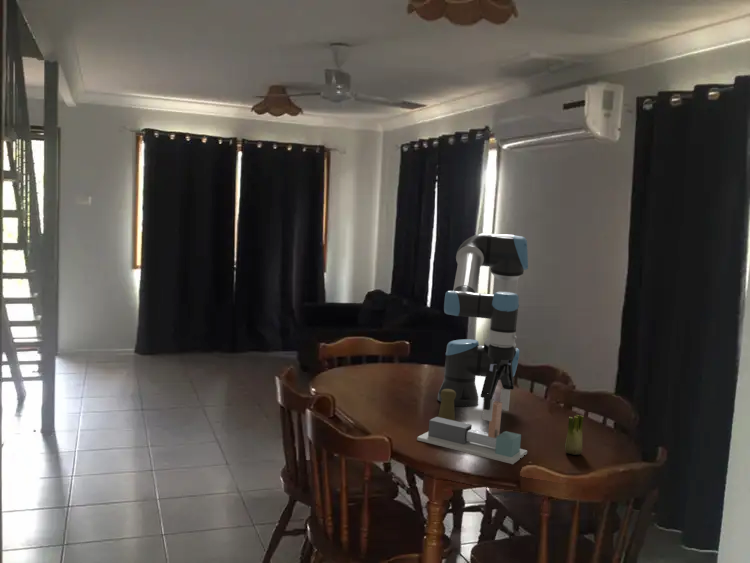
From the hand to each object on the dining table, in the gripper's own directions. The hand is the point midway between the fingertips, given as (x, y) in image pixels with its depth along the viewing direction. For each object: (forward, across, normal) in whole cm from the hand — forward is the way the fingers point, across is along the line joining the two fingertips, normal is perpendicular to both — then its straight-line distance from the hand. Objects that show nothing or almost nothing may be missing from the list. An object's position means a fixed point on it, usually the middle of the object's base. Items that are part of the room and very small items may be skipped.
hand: (495, 415), depth 214 cm
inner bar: (+9, 0, +3) cm, 10 cm away
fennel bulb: (+12, +16, -20) cm, 28 cm away
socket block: (+11, 0, -5) cm, 12 cm away
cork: (+12, +19, +24) cm, 33 cm away
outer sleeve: (+11, 0, +14) cm, 18 cm away
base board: (+11, 0, +7) cm, 13 cm away
